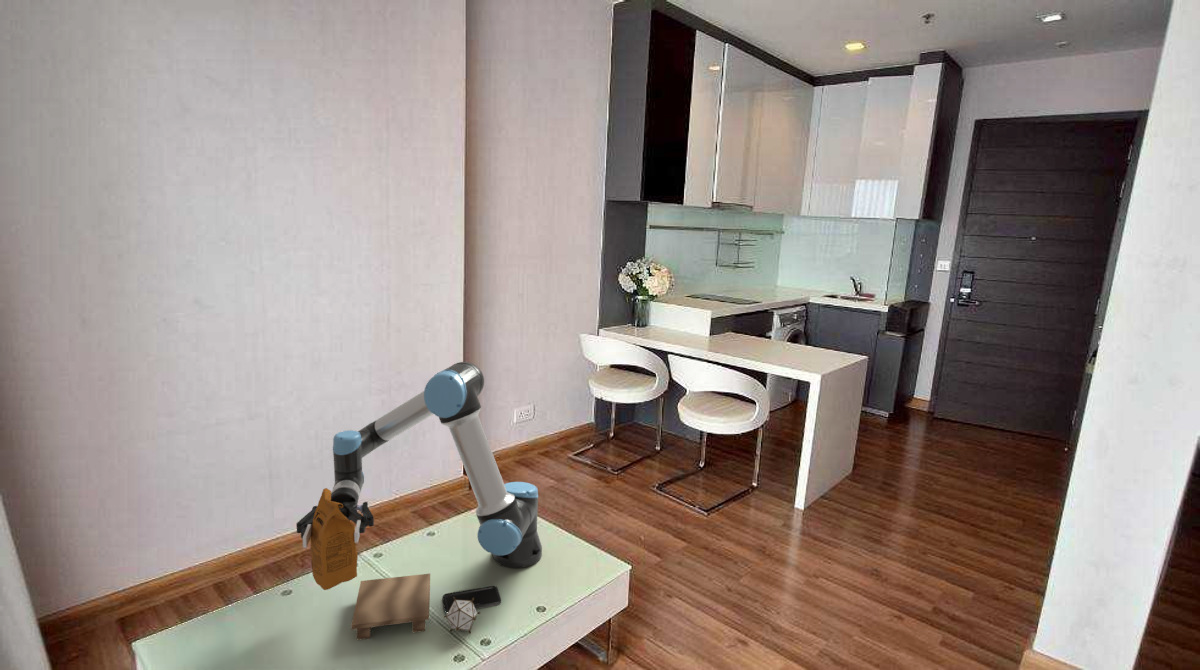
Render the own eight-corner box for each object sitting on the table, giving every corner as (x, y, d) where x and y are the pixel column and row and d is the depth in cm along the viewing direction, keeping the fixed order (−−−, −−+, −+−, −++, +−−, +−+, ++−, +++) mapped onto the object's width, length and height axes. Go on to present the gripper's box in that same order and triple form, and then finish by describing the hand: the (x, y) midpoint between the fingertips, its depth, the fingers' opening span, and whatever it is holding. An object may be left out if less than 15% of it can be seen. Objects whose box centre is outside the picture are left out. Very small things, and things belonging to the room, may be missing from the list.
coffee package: (348, 557, 156) (344, 480, 151) (362, 580, 146) (357, 499, 142) (308, 569, 150) (301, 490, 146) (319, 595, 140) (313, 511, 136)
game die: (463, 647, 147) (456, 635, 140) (440, 624, 150) (433, 611, 143) (489, 617, 152) (484, 605, 144) (466, 596, 155) (460, 583, 148)
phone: (442, 594, 160) (496, 585, 165) (442, 597, 160) (496, 588, 166) (444, 612, 153) (501, 601, 158) (444, 615, 153) (501, 605, 158)
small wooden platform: (430, 589, 163) (430, 573, 162) (429, 633, 146) (429, 615, 145) (361, 597, 158) (360, 580, 157) (351, 643, 141) (351, 625, 140)
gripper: (388, 507, 167) (381, 549, 146) (298, 515, 160) (278, 559, 140) (387, 483, 165) (381, 521, 145) (297, 490, 159) (276, 531, 138)
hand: (330, 540), depth 142 cm, fingers closed on coffee package, 11 cm apart
